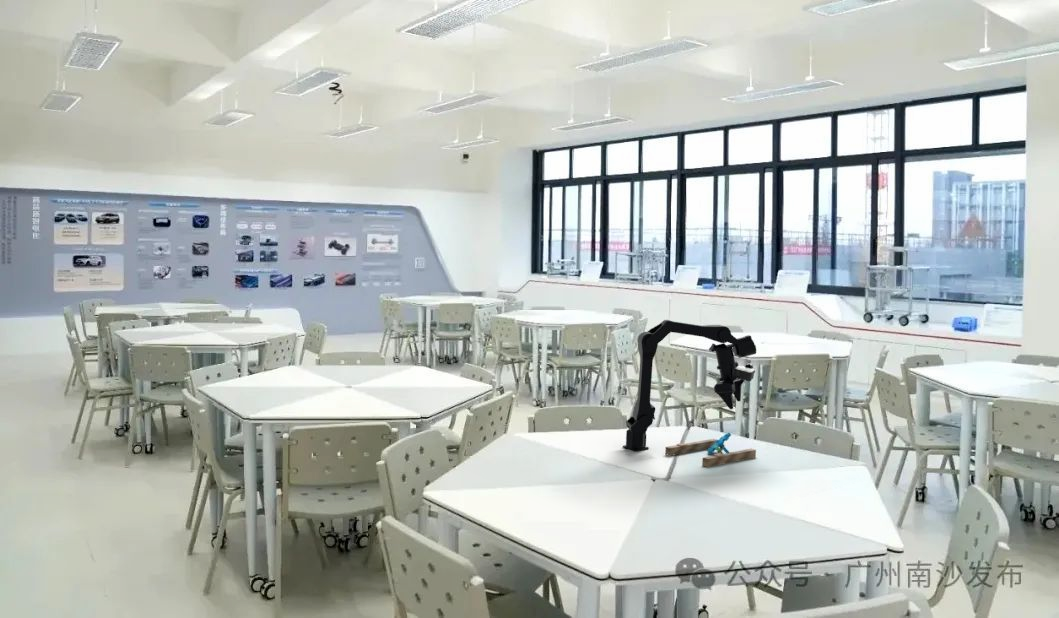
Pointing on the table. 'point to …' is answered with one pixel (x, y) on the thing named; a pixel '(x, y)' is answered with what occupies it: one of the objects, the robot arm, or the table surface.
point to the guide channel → (711, 459)
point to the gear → (720, 444)
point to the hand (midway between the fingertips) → (735, 405)
